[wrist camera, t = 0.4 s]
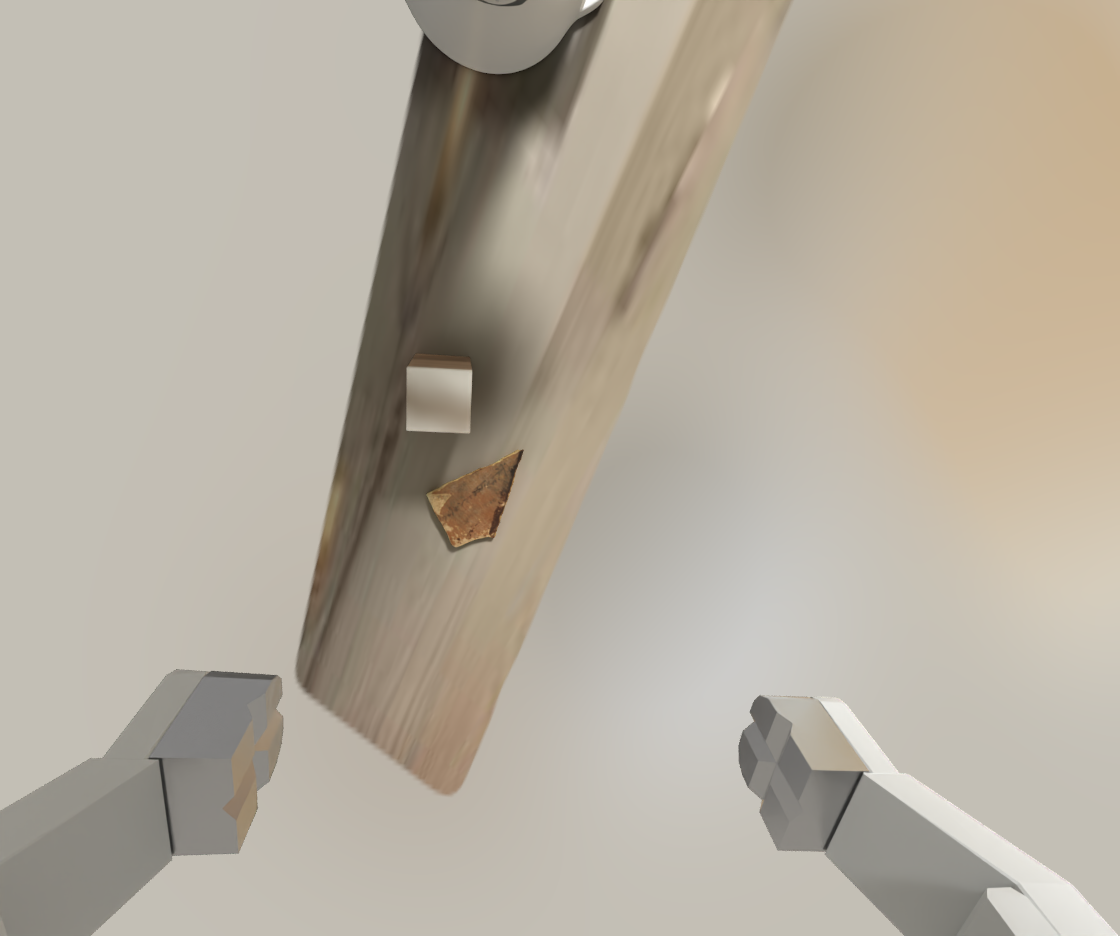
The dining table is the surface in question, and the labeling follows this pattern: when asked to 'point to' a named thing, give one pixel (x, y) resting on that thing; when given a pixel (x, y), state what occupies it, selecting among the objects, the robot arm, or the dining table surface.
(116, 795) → the robot arm
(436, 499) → the shard
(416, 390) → the wooden block
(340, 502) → the dining table surface
